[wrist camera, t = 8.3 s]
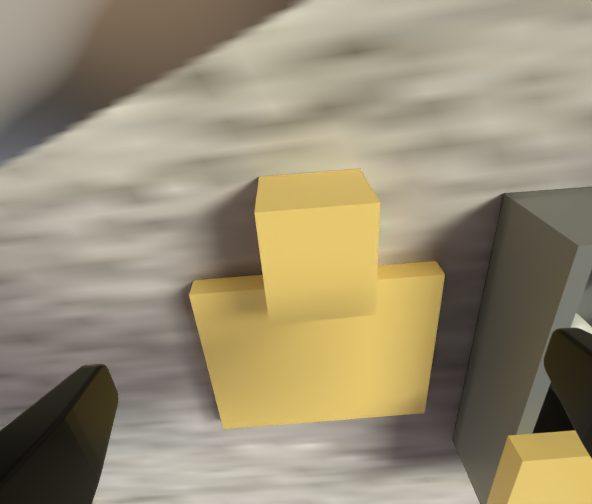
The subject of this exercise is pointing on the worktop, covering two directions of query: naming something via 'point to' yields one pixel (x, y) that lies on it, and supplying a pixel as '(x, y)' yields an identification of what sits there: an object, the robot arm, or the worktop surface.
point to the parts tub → (528, 354)
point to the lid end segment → (319, 312)
